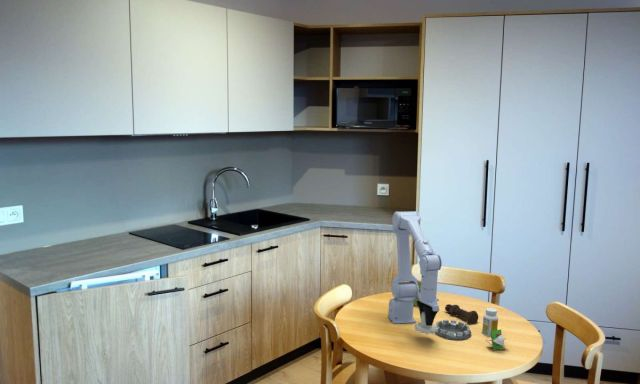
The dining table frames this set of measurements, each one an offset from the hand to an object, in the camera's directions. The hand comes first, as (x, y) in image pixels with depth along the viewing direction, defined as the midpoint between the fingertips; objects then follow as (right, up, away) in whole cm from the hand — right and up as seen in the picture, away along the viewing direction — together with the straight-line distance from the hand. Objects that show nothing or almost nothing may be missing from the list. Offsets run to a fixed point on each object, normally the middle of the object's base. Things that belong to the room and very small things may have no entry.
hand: (426, 322), depth 194 cm
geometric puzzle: (+24, -8, -4) cm, 26 cm away
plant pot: (+4, -1, +38) cm, 38 cm away
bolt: (+19, -4, +24) cm, 31 cm away
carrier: (+12, -6, +8) cm, 15 cm away
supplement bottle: (+26, -7, +9) cm, 28 cm away
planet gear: (0, -3, 0) cm, 3 cm away
